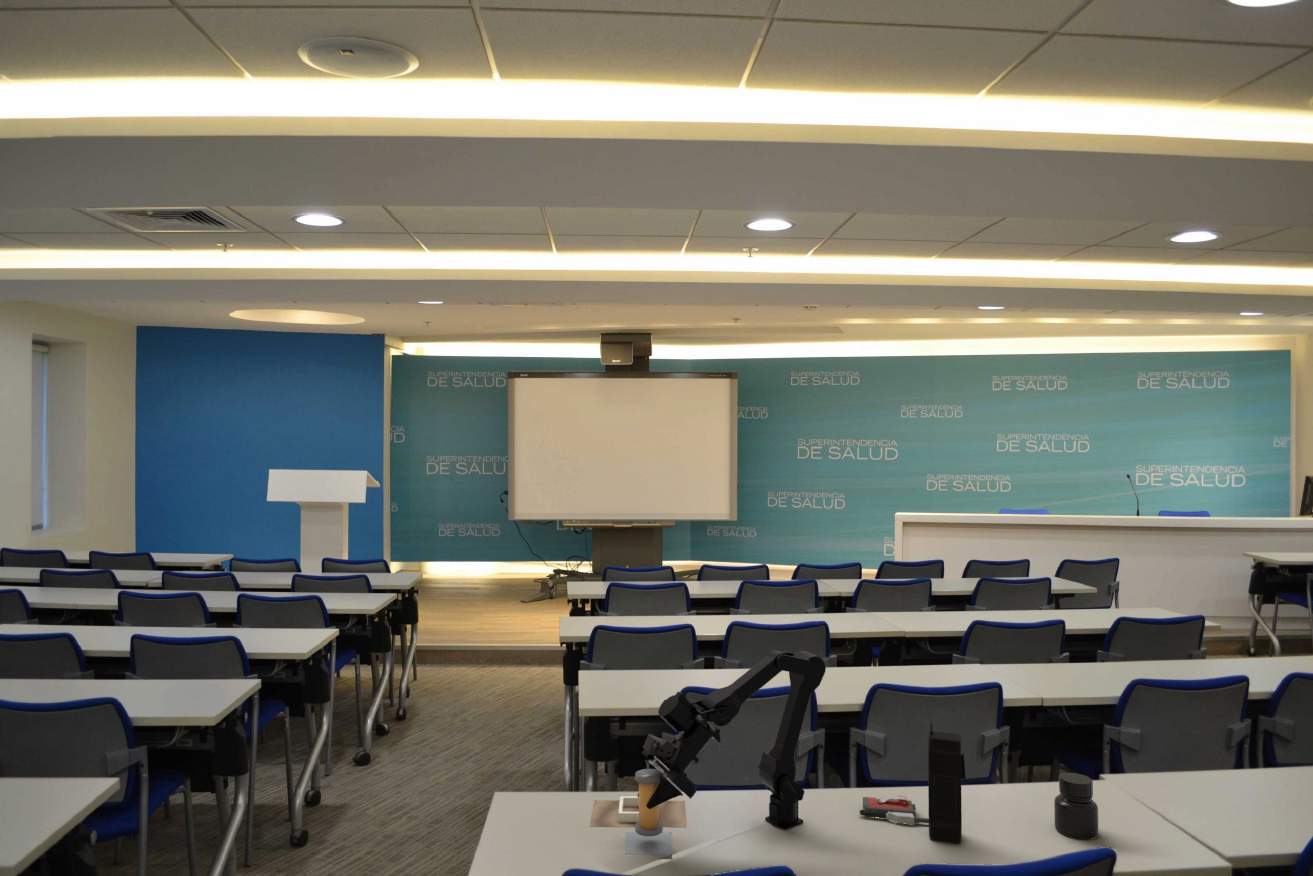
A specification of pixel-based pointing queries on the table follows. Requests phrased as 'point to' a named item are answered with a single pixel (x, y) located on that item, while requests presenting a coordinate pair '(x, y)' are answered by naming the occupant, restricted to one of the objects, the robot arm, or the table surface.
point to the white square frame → (628, 815)
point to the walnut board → (608, 811)
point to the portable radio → (945, 786)
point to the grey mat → (649, 844)
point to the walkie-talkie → (891, 809)
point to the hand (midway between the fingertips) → (643, 802)
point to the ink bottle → (1076, 807)
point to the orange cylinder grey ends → (647, 787)
